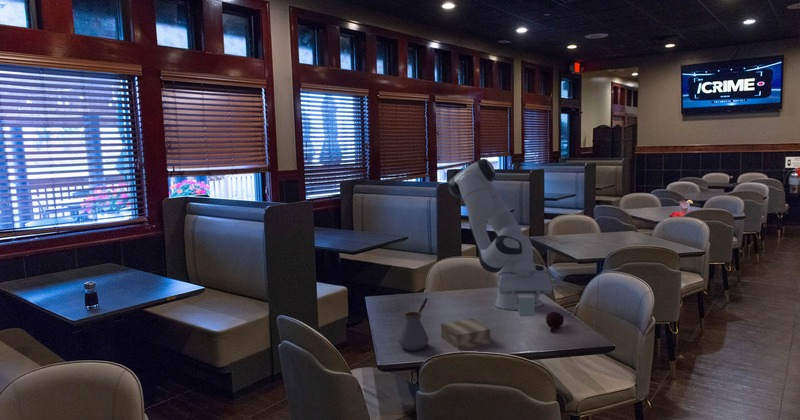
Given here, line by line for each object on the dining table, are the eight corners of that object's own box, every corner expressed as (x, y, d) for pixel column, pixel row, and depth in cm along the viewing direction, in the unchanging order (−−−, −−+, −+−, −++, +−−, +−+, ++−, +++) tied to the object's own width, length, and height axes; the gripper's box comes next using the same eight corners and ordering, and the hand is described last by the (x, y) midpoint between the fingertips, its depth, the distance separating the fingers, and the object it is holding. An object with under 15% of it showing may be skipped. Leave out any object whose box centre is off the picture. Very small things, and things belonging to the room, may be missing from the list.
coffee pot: (422, 354, 199) (421, 315, 197) (393, 350, 203) (392, 311, 202) (441, 335, 218) (440, 298, 216) (415, 331, 223) (414, 296, 221)
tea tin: (518, 311, 210) (518, 292, 209) (533, 311, 209) (532, 292, 208) (519, 316, 204) (519, 297, 204) (534, 316, 204) (534, 297, 203)
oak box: (472, 332, 221) (471, 318, 220) (490, 344, 208) (490, 329, 207) (441, 338, 216) (441, 323, 215) (458, 350, 203) (457, 334, 202)
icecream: (547, 306, 231) (538, 319, 218) (565, 304, 227) (557, 317, 214) (552, 321, 231) (543, 336, 218) (569, 319, 227) (561, 334, 215)
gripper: (496, 267, 213) (498, 299, 205) (550, 267, 210) (554, 298, 202) (496, 276, 218) (498, 307, 210) (548, 275, 215) (552, 306, 207)
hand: (526, 303), depth 206 cm, fingers closed on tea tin, 6 cm apart
